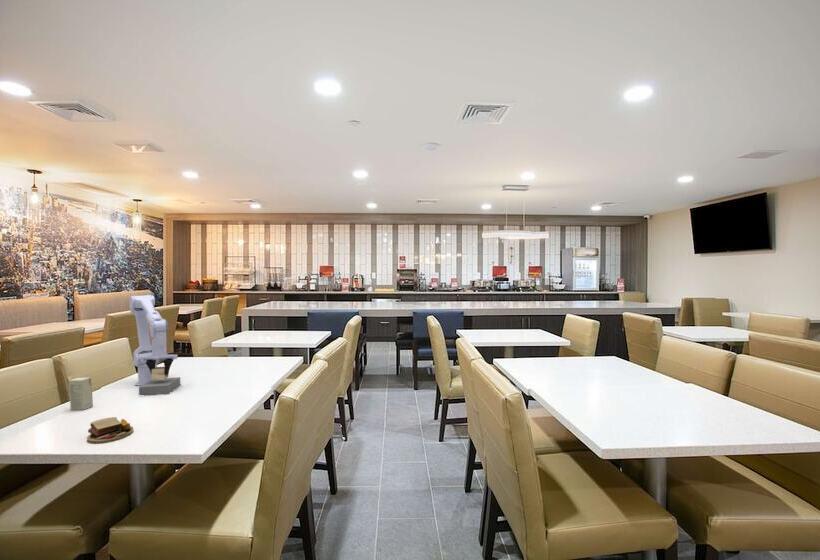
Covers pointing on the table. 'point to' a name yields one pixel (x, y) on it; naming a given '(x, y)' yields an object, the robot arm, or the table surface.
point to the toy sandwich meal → (108, 430)
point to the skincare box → (80, 393)
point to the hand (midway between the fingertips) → (160, 375)
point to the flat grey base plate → (159, 386)
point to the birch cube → (159, 373)
